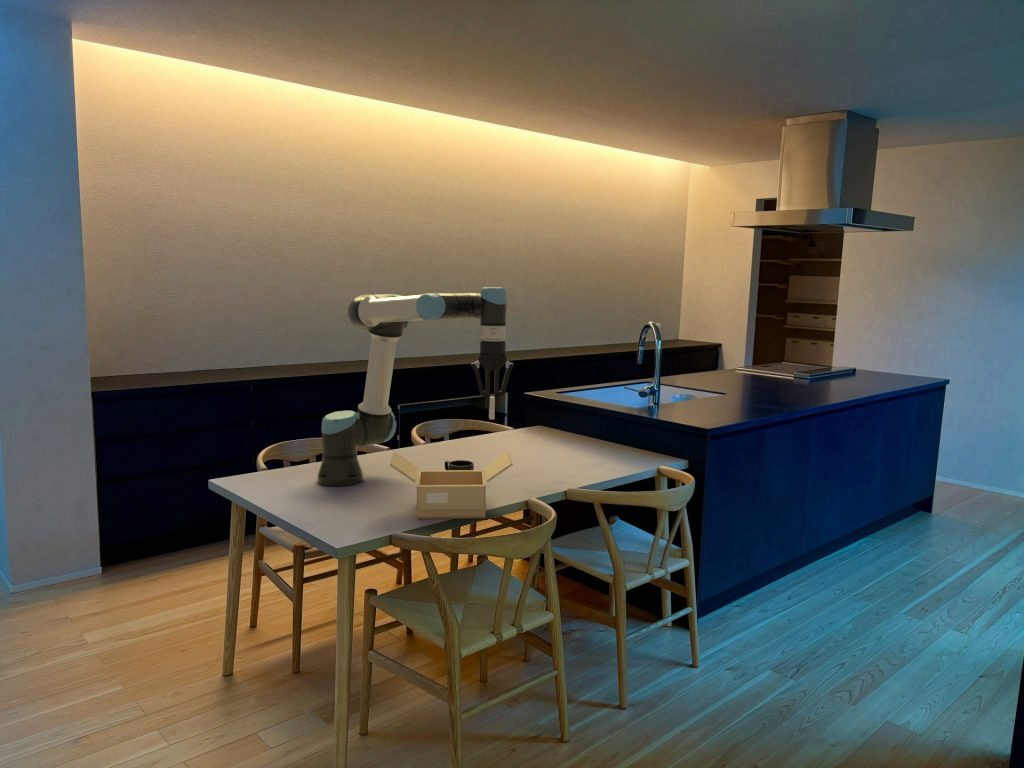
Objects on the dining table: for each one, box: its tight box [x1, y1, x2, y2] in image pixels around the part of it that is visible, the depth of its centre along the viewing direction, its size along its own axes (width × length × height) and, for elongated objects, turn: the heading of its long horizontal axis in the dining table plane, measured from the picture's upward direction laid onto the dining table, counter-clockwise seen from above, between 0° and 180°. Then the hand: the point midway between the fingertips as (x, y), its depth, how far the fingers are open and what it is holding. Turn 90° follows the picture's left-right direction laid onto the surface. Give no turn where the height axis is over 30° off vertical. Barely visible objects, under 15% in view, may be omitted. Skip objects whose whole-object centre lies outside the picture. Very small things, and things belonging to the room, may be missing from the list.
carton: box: [416, 469, 487, 520], centre depth 222 cm, size 20×18×10 cm
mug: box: [444, 459, 475, 470], centre depth 243 cm, size 8×12×10 cm
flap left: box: [389, 451, 419, 483], centre depth 219 cm, size 1×15×9 cm
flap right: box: [483, 451, 513, 483], centre depth 222 cm, size 1×15×9 cm
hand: (491, 418), depth 219 cm, fingers closed
